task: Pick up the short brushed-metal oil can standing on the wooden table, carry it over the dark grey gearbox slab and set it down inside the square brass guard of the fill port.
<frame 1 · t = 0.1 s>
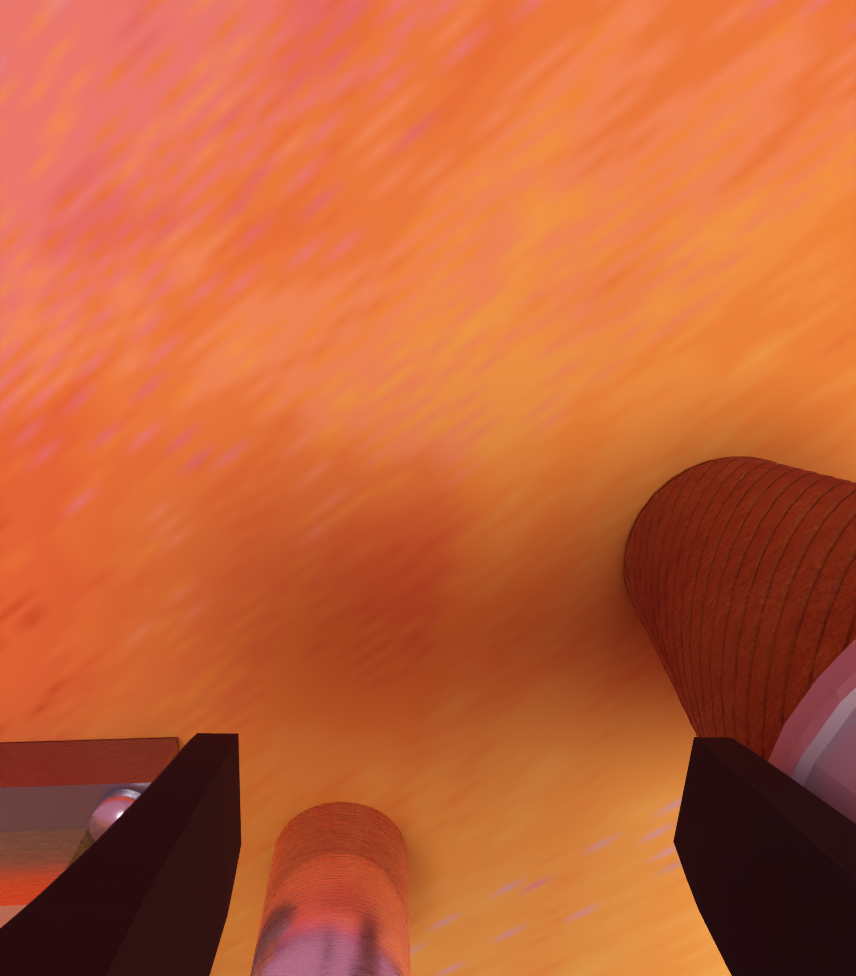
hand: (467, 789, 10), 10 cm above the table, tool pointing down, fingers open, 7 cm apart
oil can: (340, 856, 23), on the table
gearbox: (21, 940, 23), on the table
disposable coffee cup: (720, 552, 21), on the table
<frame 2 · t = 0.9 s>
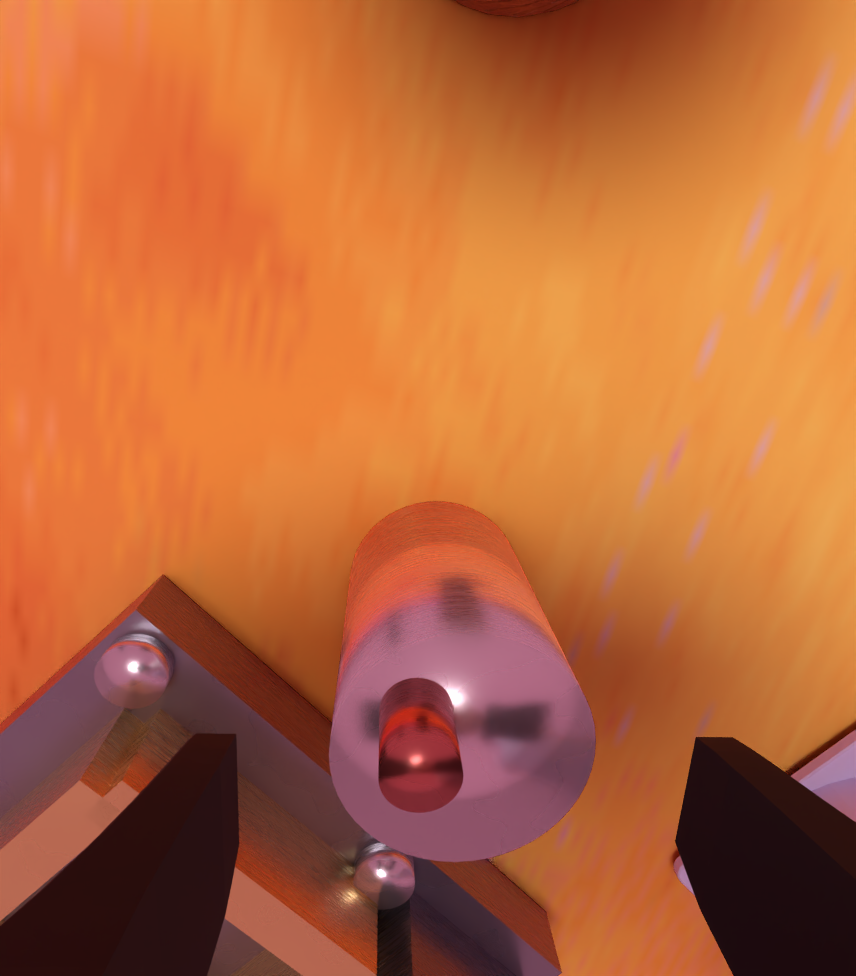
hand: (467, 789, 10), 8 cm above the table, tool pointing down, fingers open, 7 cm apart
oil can: (434, 581, 18), on the table
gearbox: (228, 878, 20), on the table
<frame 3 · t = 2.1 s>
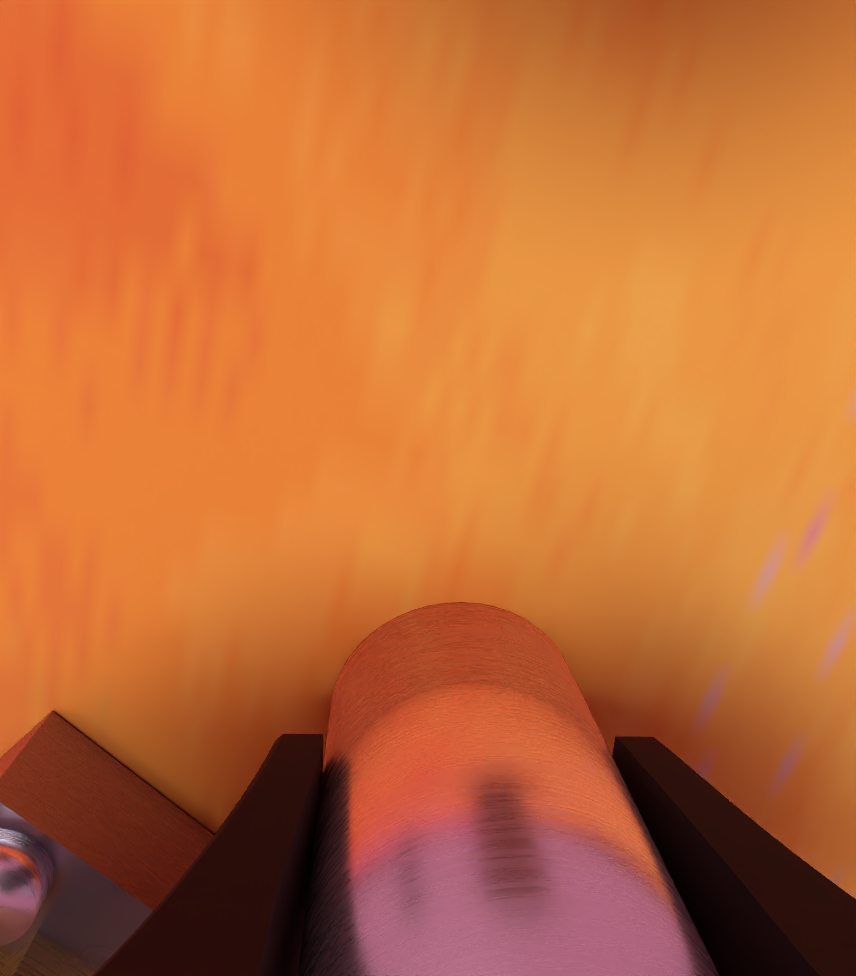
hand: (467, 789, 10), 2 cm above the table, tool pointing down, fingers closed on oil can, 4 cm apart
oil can: (454, 714, 12), on the table, touching gripper
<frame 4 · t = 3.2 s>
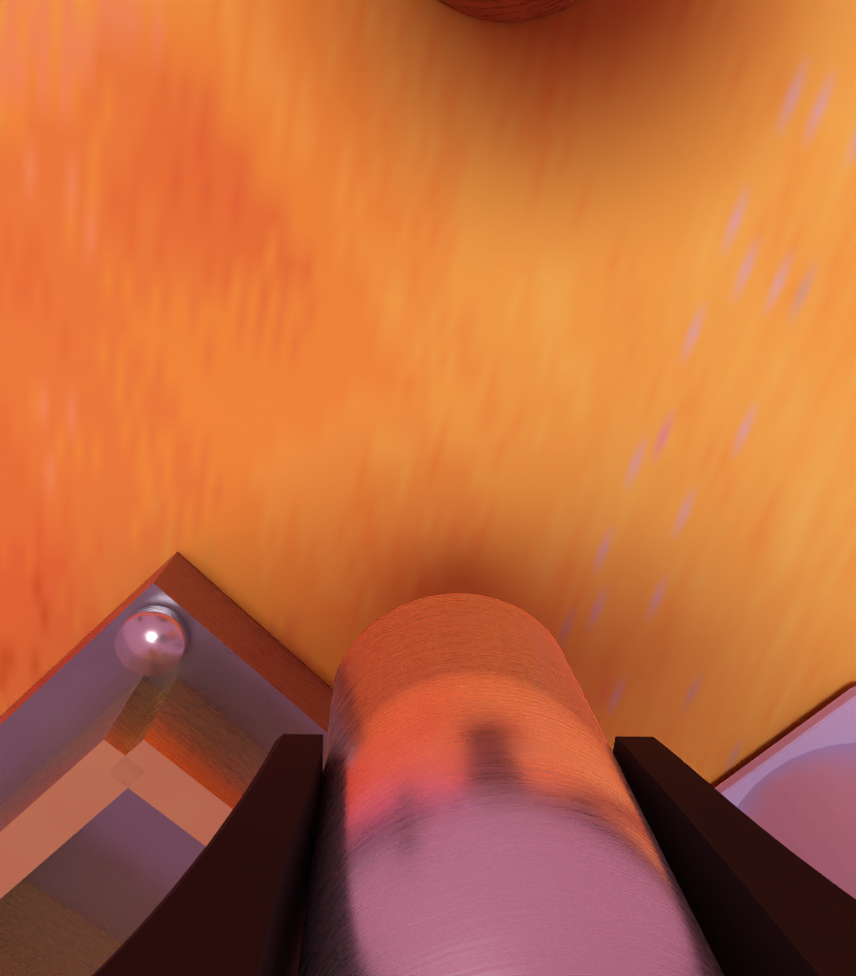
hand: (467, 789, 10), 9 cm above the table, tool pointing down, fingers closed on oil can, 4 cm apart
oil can: (453, 703, 13), point 7 cm above the table, touching gripper
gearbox: (239, 844, 21), on the table
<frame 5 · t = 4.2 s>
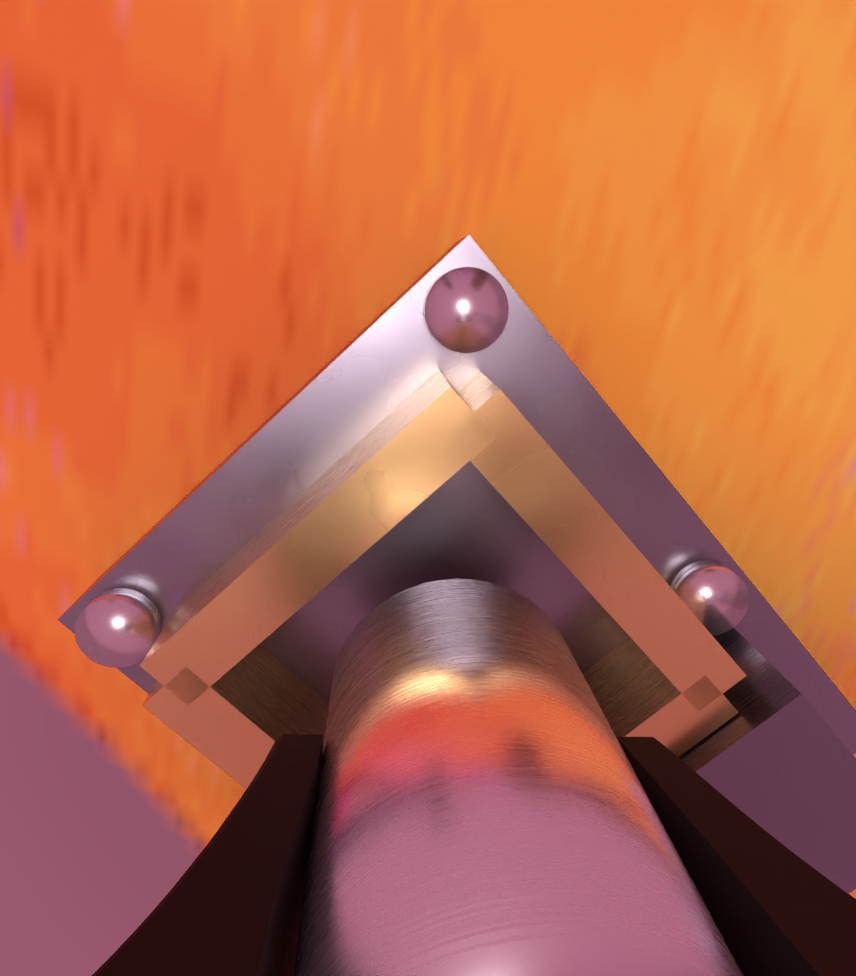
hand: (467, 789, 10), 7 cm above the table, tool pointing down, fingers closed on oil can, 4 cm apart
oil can: (453, 690, 13), point 5 cm above the table, touching gripper
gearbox: (485, 640, 18), on the table
when the fingers open (6 cm above the table, at t = 4.8 s): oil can drops 2 cm, resting on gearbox.
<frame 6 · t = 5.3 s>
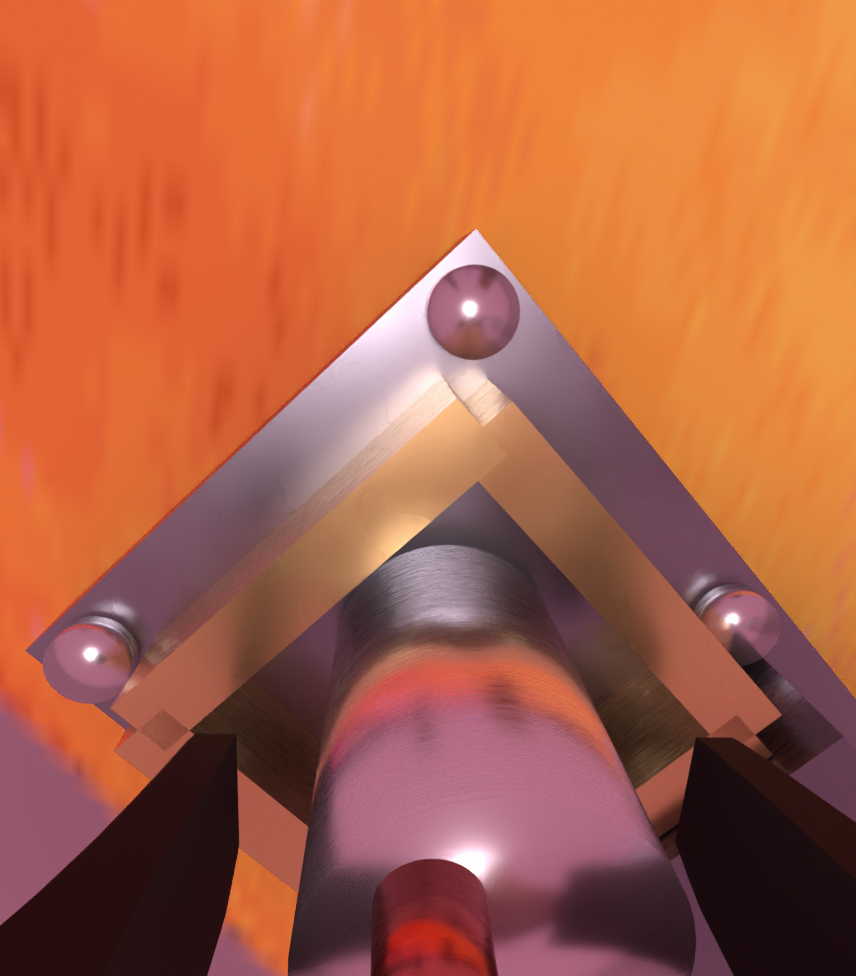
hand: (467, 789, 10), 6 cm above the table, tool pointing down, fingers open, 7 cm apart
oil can: (445, 645, 14), point 2 cm above the table, touching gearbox
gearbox: (491, 666, 17), on the table
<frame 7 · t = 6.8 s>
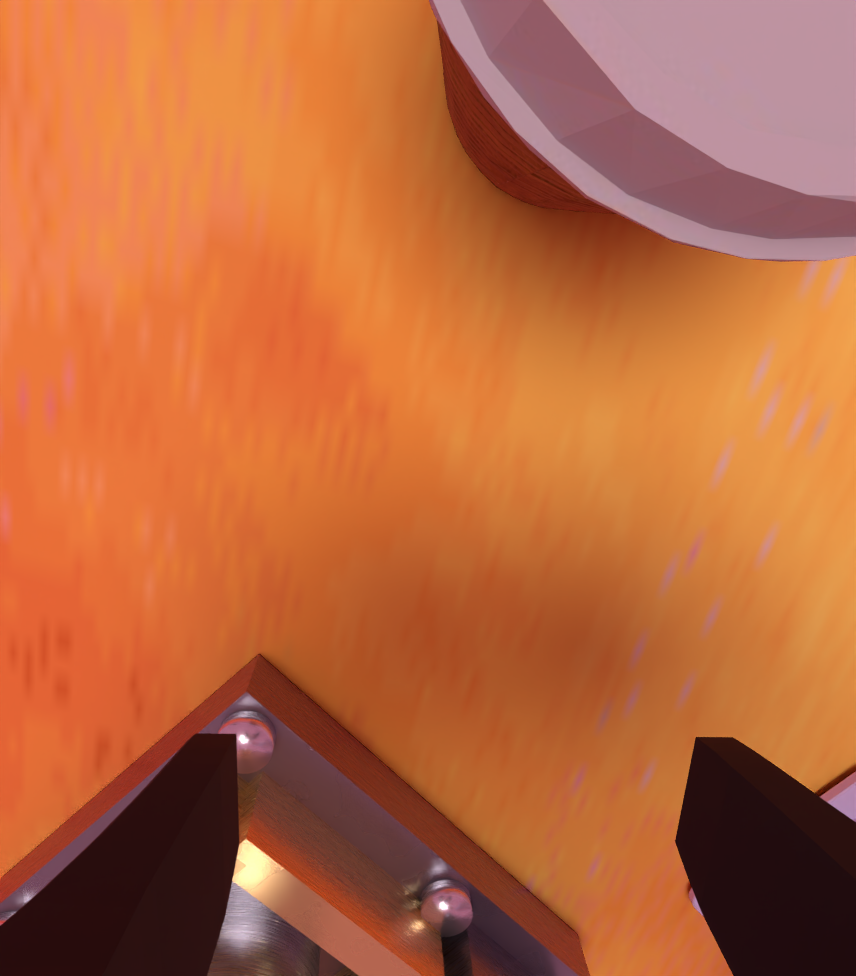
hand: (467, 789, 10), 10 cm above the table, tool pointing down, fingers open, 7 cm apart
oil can: (250, 923, 21), point 2 cm above the table, touching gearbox
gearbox: (304, 907, 23), on the table
disposable coffee cup: (568, 75, 17), on the table
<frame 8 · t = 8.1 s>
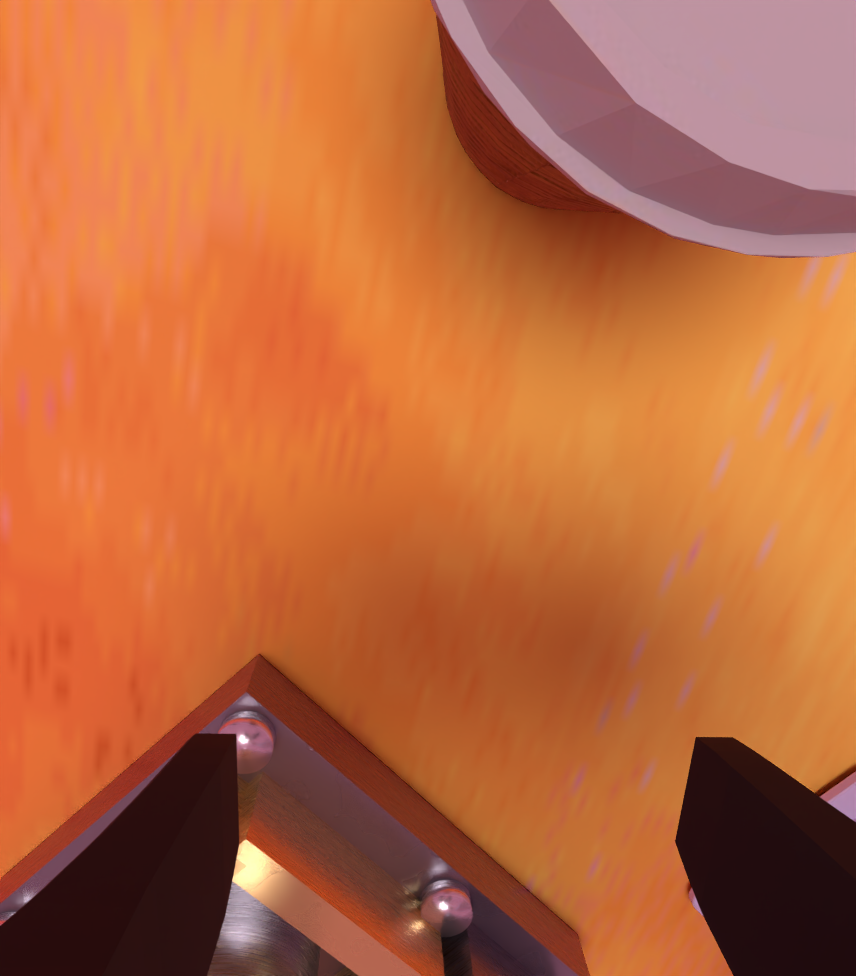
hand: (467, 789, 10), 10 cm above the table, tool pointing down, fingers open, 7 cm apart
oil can: (250, 923, 21), point 2 cm above the table, touching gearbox
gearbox: (304, 907, 23), on the table
disposable coffee cup: (568, 75, 17), on the table
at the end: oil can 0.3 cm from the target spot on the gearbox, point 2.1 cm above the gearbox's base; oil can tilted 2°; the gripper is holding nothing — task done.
